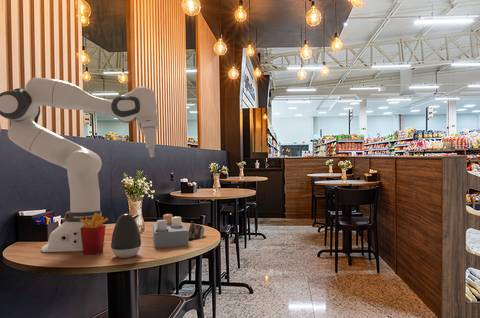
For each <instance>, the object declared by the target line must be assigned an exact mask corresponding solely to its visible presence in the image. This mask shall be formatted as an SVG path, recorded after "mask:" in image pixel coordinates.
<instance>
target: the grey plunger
mask: <svg viewBox="0 0 480 318" xmlns="http://www.w3.org/2000/svg"><path fill="white" fill-rule="evenodd" d="M156 223H157V232H167V220H164V219H158V220H156Z"/></svg>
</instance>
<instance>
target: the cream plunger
mask: <svg viewBox="0 0 480 318" xmlns="http://www.w3.org/2000/svg"><path fill="white" fill-rule="evenodd" d="M181 222H182V217H181V216H172V228H180V227H181Z"/></svg>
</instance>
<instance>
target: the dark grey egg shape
mask: <svg viewBox="0 0 480 318" xmlns="http://www.w3.org/2000/svg"><path fill="white" fill-rule="evenodd" d="M138 217H139V214H138V213H136V214H134V215H132V214H129V213H123V214H121V215H119V217H118V218H117V220H116V222H115V224H114V227H113V231H112V234H111V235H112V236H111V242H110V244H111V245H110V247H111V250H112V253H113V255H114V256H116V257H117V258H121V259H128V258H132V257H135V256H136V255H137V254H138V253H139V252H140V249H141V246H142V239H141V233H140V229H139V226H138V223H137V221H136V219H137V218H138Z"/></svg>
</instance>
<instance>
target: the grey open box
mask: <svg viewBox="0 0 480 318" xmlns="http://www.w3.org/2000/svg"><path fill="white" fill-rule="evenodd" d="M188 231H189V229H187V227H186V225H185V224H184V223H183V222H182V221H181V227H180V228H172V224H170V225H167V232H157V222H153V223H152V237H153V244H154V249H161V248H174V247H186V246H189V240H188Z"/></svg>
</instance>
